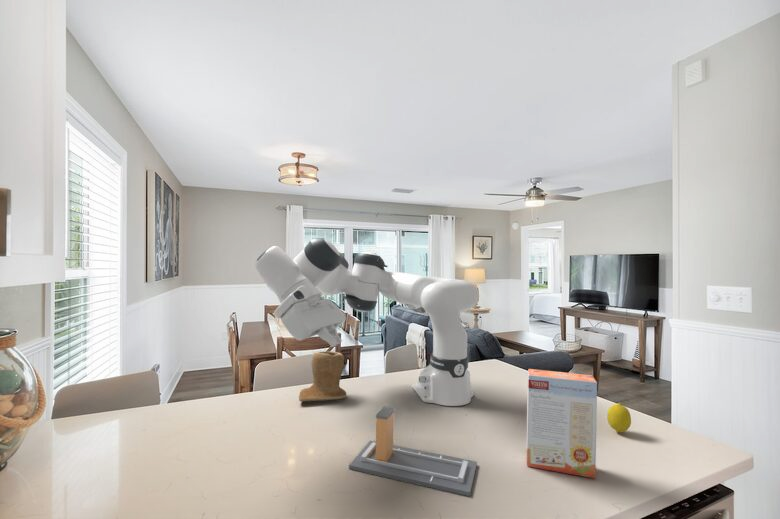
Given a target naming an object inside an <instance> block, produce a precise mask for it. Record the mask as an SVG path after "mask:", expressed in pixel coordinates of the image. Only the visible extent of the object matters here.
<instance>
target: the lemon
mask: <svg viewBox="0 0 780 519" xmlns="http://www.w3.org/2000/svg"><path fill="white" fill-rule="evenodd" d="M606 417H607V418H606V419H607V423H608V425H609V427H611V428H612V429H613V430H614V431H615V432H616V433H618V434H620V433H622V432H626V431H628V430H629V429H630V426H631V425H632V417H631V413H630V411H629V409H628V408H627V407H626V406H624V405H623V404H621V403H616V404H612V405H610V407H609V409H608V411H607V415H606Z"/></svg>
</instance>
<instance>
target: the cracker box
mask: <svg viewBox="0 0 780 519" xmlns="http://www.w3.org/2000/svg"><path fill="white" fill-rule="evenodd" d="M527 371H528V372H527V401H526V402H527V405H526V408H527V409H526V466H527V467H530V468H535V469H540V470H541V469H542V470H545V471H551V472H557V473H563V474H568V475H569V474H570V475H575V476H580V477H586V478H589V479H591V478H592V479H595V478H596V465H597V464H596V462H597V459H596V457H597V456H596V455H597V412H598V411H597V409H598V408H597V407H598V406H597V405H598V401H597V400H598V399H597V398H598V382H597V380H596V378H595V377H594V375H592V374H583V373H582V374H581V373H573V372H565V371H564V372H563V371H553V370H543V369H535V368H534V369H533V368H528V370H527Z"/></svg>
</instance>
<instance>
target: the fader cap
mask: <svg viewBox="0 0 780 519" xmlns="http://www.w3.org/2000/svg"><path fill="white" fill-rule="evenodd" d="M395 411H396V410H395V407H391V406H389V407H388V406H383V407H382V408H381V409H380V411H378V412H377V414H375V418H376V421H375V422H376V424H375V425H376V427H375V428H376V429H375V442H376V460H378V461H383V462H387V461H388V459H389V458H390V456H391V455H392V453H393V445H394V426H395V424H394V422H395V419H394V418H395Z"/></svg>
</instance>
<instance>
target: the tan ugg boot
mask: <svg viewBox="0 0 780 519" xmlns="http://www.w3.org/2000/svg"><path fill="white" fill-rule="evenodd" d="M343 354H344V353H343ZM343 354H342V353H341V352H337V351H315V352H314V353H313V354H312V355H313V356H312V358H311V371H312V377H313V380H312V381H313V382H312V385H311V386H309V387H305V388H302V389H301V390H300V391H299V395H298V401H299V402H322V401H334V400H341V399H345V398H346V397H347V391H346V390H345V389H343V388H341V387H340V381H341V377H342V374H343V371H344V367H345V365H344V364H345V357H344V355H343Z"/></svg>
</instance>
